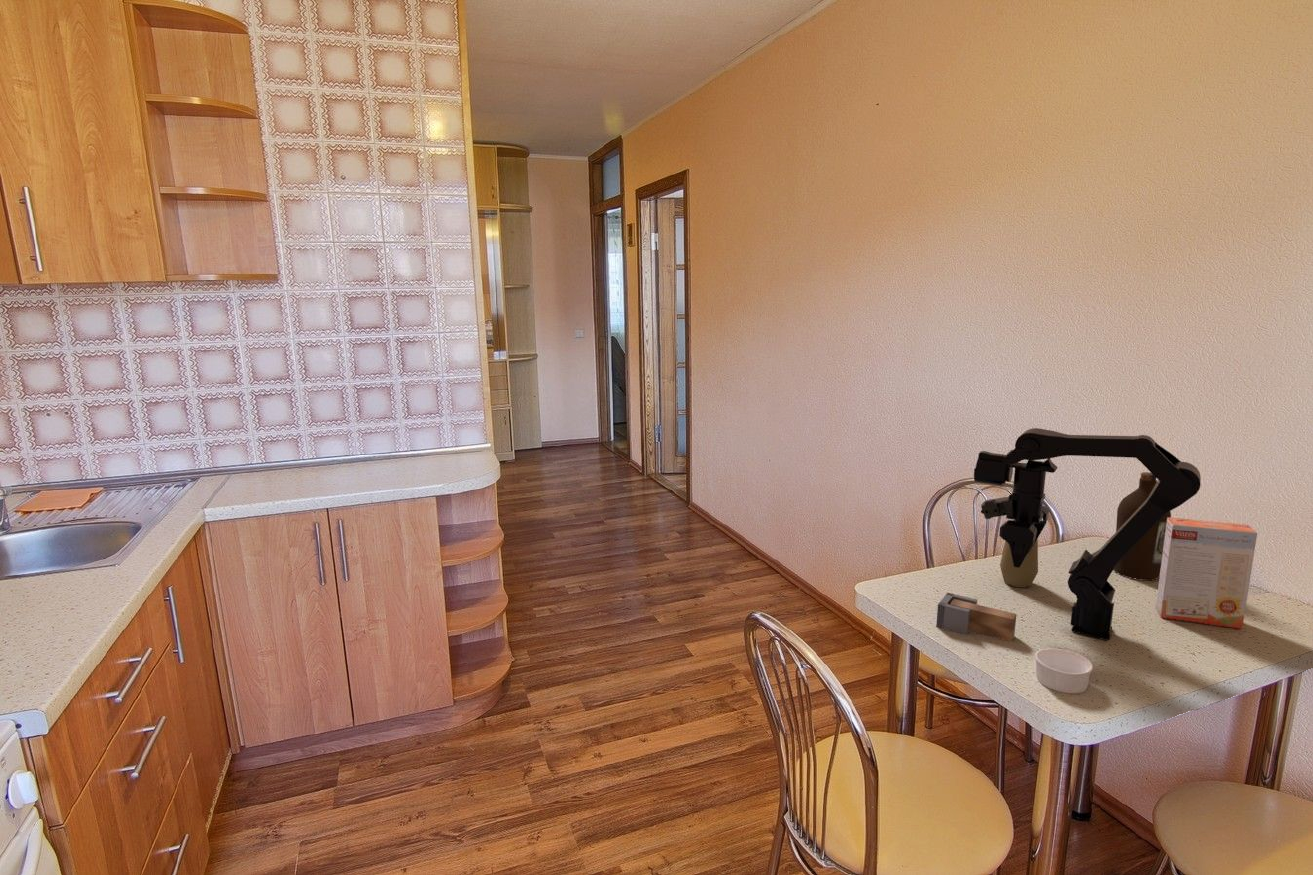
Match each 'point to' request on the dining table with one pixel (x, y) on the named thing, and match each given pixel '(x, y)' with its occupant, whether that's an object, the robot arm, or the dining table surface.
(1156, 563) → the olive oil
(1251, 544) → the cracker box
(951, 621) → the end cap
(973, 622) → the slat
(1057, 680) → the ramekin
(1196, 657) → the dining table surface
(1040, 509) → the robot arm
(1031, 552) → the squeeze bottle
